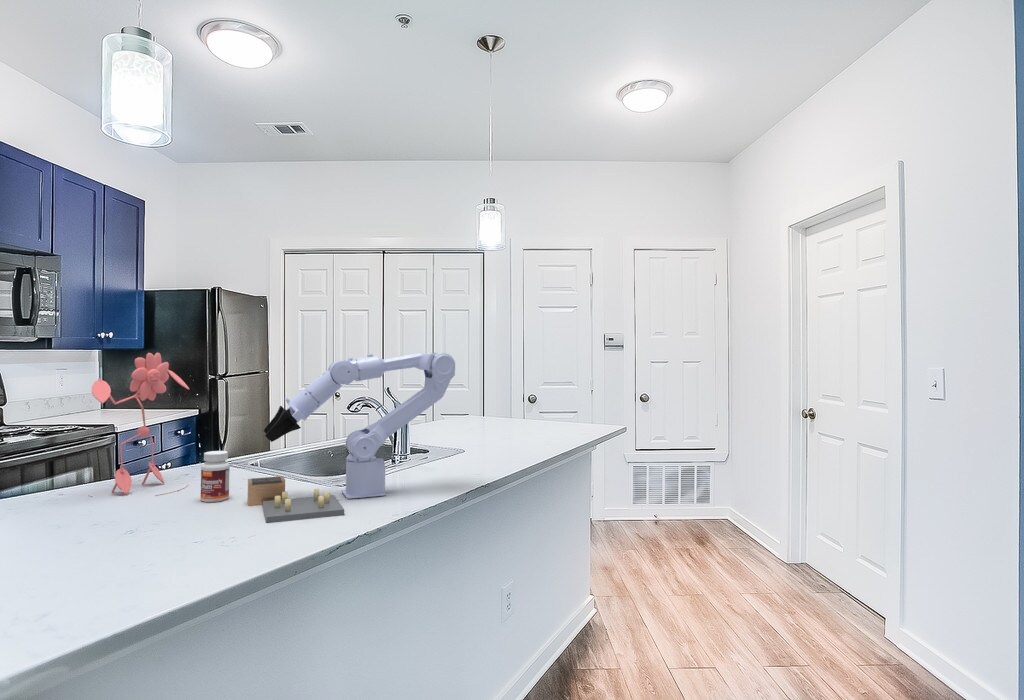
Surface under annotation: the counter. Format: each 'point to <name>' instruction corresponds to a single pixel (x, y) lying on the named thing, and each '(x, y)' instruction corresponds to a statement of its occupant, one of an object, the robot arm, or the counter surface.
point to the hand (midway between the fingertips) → (267, 436)
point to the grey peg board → (301, 507)
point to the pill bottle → (215, 477)
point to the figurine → (147, 385)
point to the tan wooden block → (264, 489)
